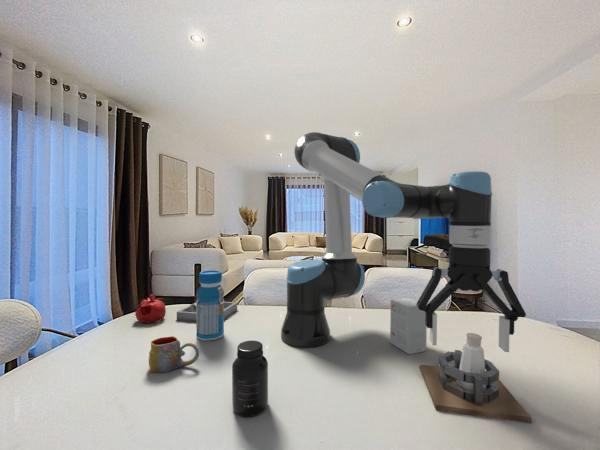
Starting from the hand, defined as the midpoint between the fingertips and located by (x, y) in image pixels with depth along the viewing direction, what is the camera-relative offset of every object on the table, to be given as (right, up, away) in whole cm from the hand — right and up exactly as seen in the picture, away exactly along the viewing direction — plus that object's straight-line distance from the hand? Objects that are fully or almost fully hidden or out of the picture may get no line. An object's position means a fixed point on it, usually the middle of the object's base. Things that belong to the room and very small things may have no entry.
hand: (467, 346), depth 61 cm
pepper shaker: (+1, -9, 0) cm, 9 cm away
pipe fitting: (-73, -8, +50) cm, 89 cm away
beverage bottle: (-64, -9, +28) cm, 70 cm away
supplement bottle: (-45, -10, -5) cm, 47 cm away
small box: (-5, -10, +22) cm, 24 cm away
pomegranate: (-89, -9, +42) cm, 99 cm away
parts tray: (-70, -9, +48) cm, 86 cm away
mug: (-66, -9, +9) cm, 68 cm away
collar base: (0, -10, 0) cm, 10 cm away
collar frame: (0, -10, 0) cm, 10 cm away
